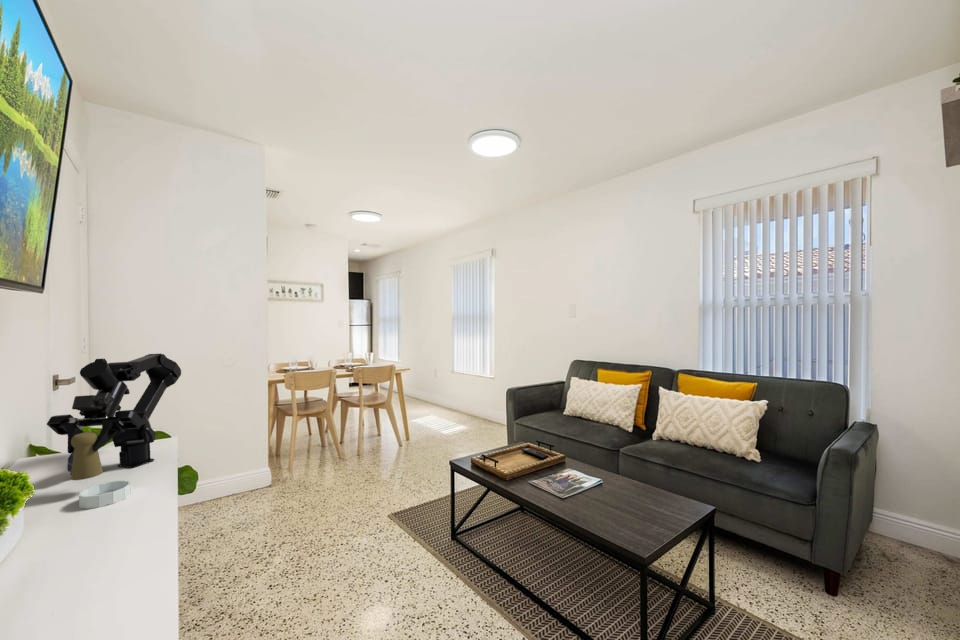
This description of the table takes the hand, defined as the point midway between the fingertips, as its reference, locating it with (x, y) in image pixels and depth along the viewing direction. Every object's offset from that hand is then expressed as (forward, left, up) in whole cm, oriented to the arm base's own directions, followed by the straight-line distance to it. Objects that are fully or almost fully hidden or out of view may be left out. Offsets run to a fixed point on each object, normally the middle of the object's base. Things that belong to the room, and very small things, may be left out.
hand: (81, 451), depth 104 cm
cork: (-1, -1, -7) cm, 7 cm away
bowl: (0, +9, -11) cm, 14 cm away
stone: (-9, -17, -11) cm, 23 cm away
